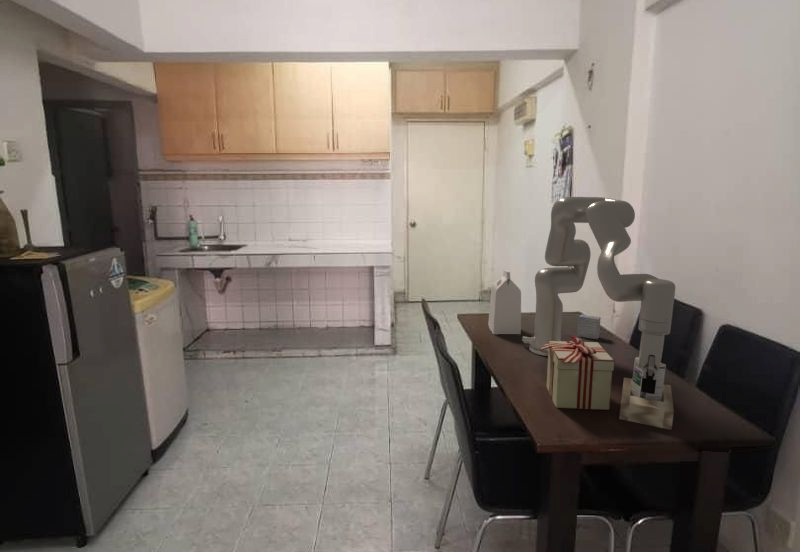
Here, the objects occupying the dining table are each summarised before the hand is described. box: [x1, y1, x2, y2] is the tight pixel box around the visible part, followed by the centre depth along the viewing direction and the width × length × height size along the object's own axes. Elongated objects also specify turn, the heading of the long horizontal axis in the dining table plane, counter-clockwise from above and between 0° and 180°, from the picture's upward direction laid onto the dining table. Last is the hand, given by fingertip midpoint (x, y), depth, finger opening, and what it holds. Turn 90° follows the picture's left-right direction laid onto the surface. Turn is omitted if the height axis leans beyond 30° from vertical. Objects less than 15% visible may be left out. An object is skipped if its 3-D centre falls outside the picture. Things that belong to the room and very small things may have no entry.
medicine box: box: [576, 314, 601, 340], centre depth 191 cm, size 8×4×9 cm, turn 57°
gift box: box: [539, 335, 615, 411], centre depth 133 cm, size 17×18×17 cm
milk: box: [487, 269, 522, 335], centre depth 197 cm, size 12×12×26 cm
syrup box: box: [630, 356, 667, 401], centre depth 127 cm, size 6×6×14 cm
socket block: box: [619, 377, 675, 431], centre depth 127 cm, size 12×18×5 cm, turn 152°
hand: (647, 385), depth 127 cm, fingers open, 9 cm apart
